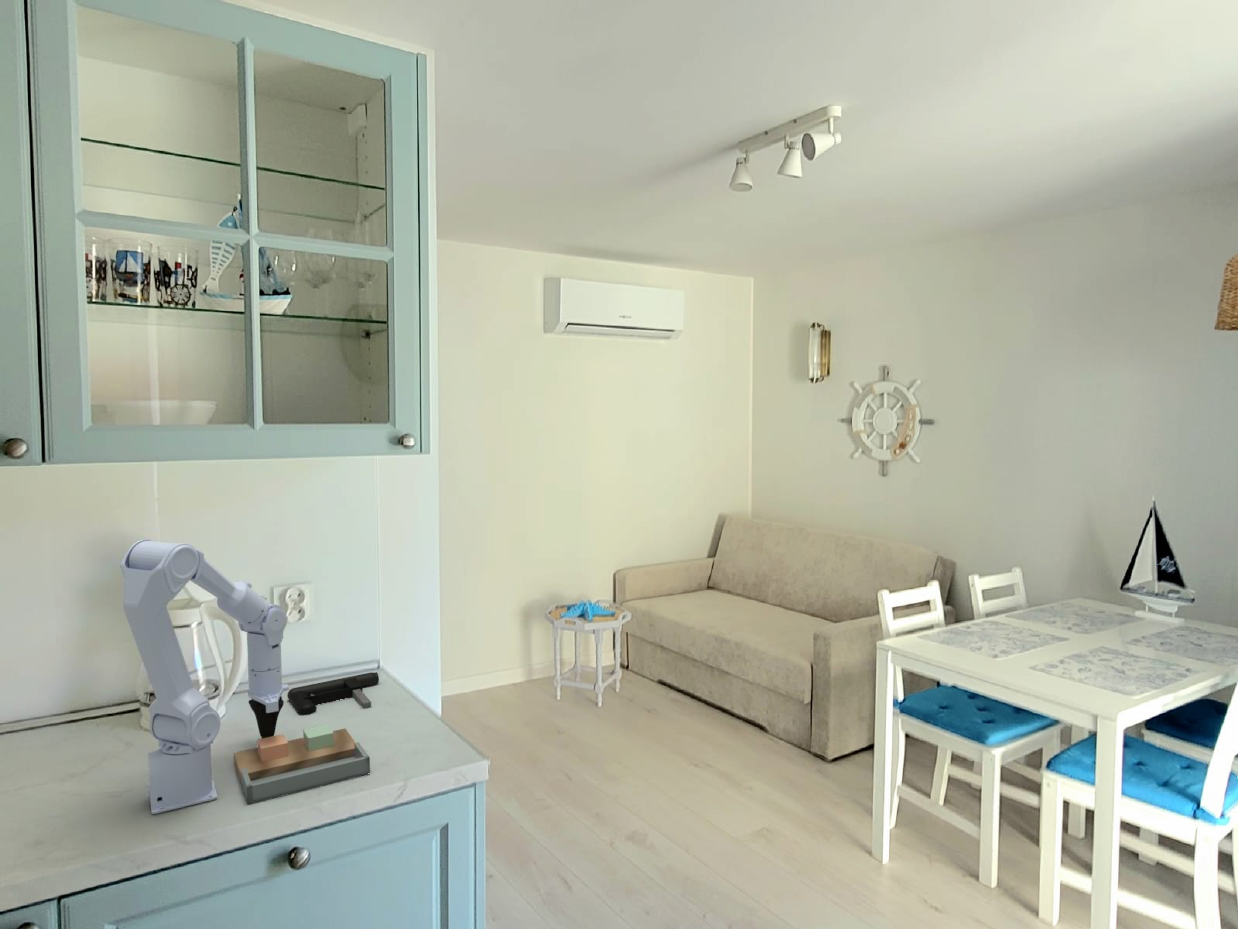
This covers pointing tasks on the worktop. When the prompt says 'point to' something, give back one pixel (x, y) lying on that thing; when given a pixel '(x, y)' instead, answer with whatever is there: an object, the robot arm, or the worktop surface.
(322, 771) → the tray
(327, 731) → the sage tile
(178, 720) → the robot arm
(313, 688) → the door handle
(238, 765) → the walnut board
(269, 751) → the terracotta tile
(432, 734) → the worktop surface
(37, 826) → the worktop surface
